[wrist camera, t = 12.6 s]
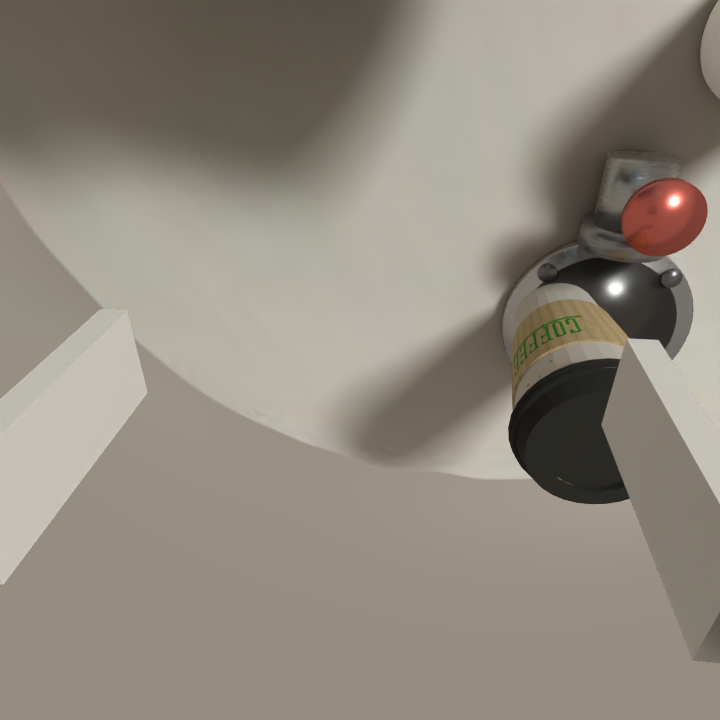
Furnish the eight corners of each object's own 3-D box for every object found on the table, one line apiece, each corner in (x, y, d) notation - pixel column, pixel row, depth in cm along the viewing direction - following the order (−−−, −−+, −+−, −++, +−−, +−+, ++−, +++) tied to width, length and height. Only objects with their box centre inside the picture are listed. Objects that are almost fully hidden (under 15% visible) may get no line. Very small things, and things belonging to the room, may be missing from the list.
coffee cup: (480, 274, 42) (501, 394, 30) (620, 247, 40) (705, 364, 28) (498, 379, 47) (522, 519, 35) (623, 360, 45) (696, 503, 33)
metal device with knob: (526, 145, 39) (546, 177, 32) (740, 150, 38) (812, 185, 30) (491, 382, 50) (500, 447, 42) (656, 393, 48) (695, 462, 41)
